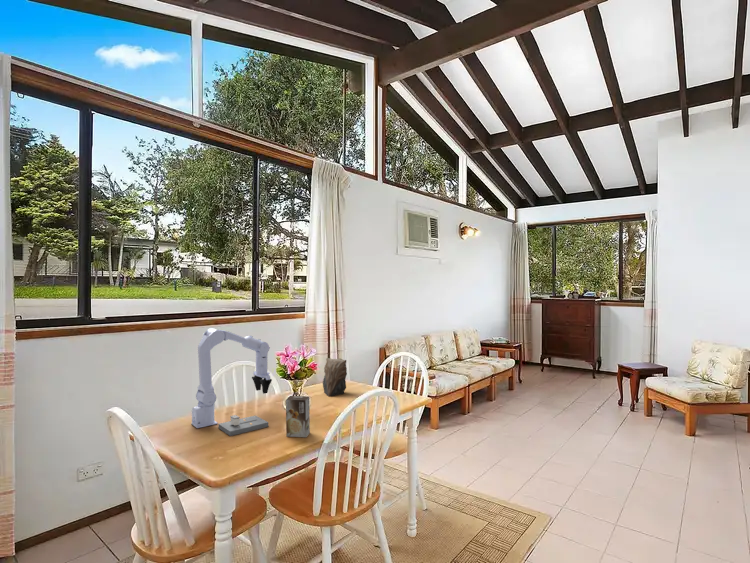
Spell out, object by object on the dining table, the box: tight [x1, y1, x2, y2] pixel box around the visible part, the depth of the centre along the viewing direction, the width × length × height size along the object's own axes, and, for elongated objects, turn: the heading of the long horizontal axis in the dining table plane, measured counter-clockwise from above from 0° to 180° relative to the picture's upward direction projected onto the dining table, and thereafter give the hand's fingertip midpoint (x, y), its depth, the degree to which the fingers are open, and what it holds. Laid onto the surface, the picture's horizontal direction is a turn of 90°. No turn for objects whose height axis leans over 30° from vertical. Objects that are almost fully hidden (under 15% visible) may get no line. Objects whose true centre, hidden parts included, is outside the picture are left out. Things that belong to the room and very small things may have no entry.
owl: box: [322, 357, 348, 397], centre depth 255 cm, size 13×13×20 cm
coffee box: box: [285, 395, 311, 438], centre depth 188 cm, size 9×6×16 cm
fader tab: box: [229, 414, 241, 426], centre depth 194 cm, size 2×4×3 cm, turn 41°
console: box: [217, 414, 269, 437], centre depth 197 cm, size 18×13×2 cm
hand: (261, 391), depth 220 cm, fingers open, 7 cm apart
